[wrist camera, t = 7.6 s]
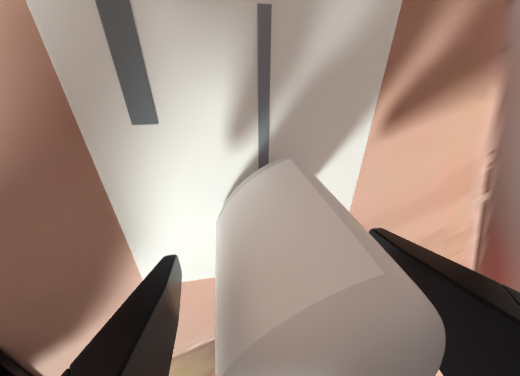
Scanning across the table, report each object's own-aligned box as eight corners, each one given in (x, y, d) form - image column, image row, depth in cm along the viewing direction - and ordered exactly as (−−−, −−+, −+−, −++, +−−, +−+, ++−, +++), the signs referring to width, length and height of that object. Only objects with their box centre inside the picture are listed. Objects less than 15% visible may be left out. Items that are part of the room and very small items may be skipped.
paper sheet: (335, 256, 15) (337, 259, 15) (147, 283, 13) (145, 288, 13) (434, -150, 7) (445, -161, 6) (-67, -241, 5) (-88, -264, 4)
